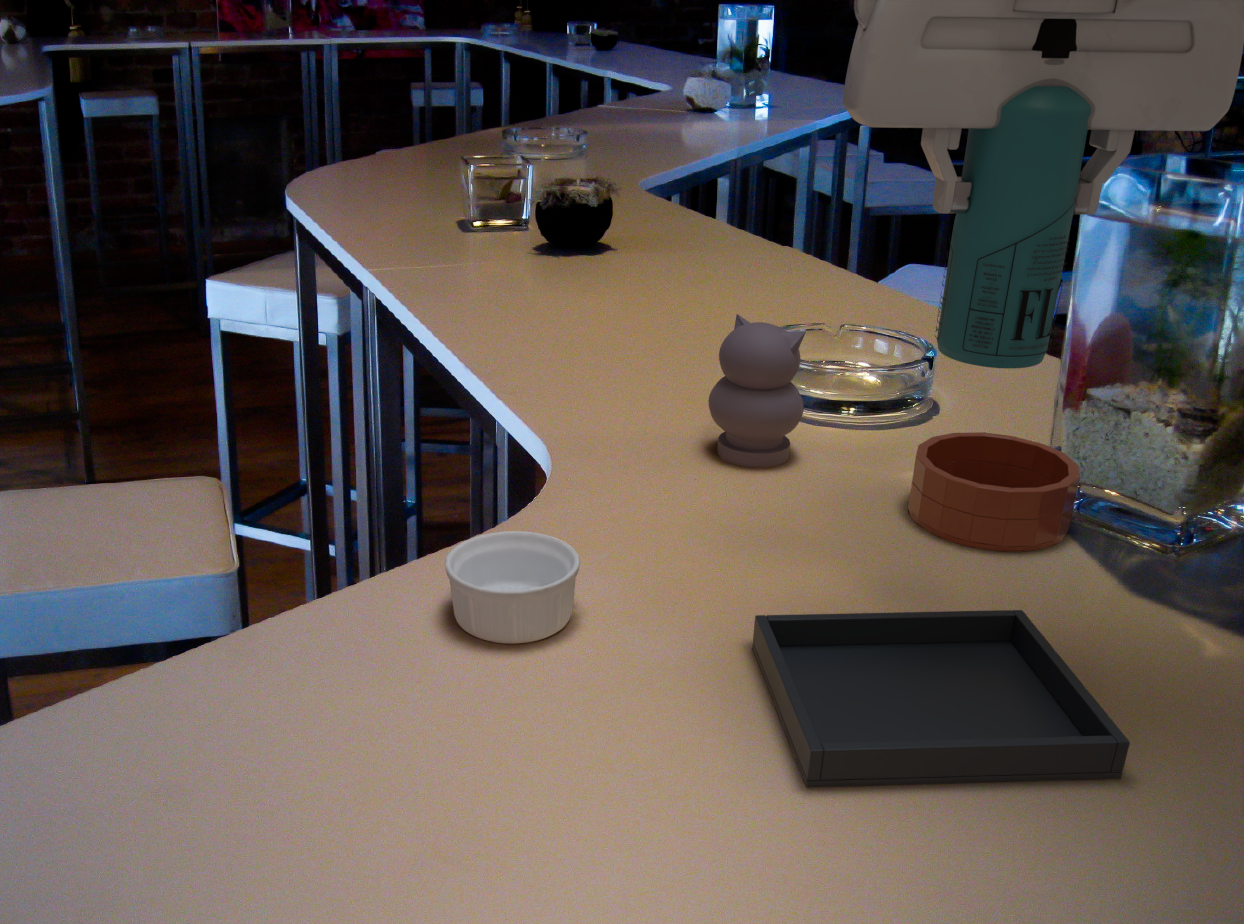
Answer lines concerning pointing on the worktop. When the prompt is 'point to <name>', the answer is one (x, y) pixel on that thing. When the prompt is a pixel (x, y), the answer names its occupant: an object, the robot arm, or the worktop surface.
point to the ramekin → (512, 585)
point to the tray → (931, 700)
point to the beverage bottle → (1015, 222)
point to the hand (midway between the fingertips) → (1013, 212)
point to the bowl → (993, 491)
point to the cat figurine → (757, 394)
